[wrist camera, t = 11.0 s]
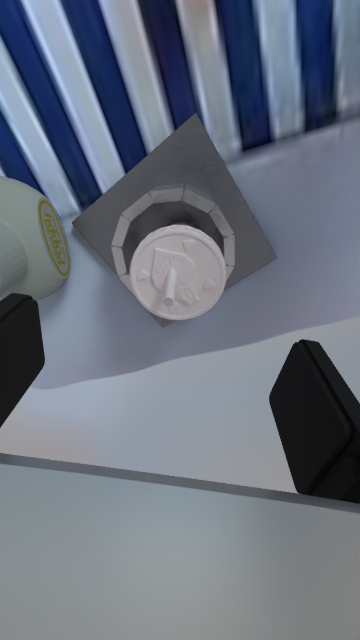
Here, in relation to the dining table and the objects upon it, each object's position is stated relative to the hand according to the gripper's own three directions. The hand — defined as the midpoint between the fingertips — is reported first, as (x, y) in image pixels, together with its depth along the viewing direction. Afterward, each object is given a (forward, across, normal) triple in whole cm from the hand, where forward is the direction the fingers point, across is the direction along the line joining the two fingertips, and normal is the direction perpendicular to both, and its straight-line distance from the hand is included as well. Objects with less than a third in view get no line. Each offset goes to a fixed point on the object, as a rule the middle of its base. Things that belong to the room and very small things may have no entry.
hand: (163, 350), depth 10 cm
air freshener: (+19, +15, +3) cm, 25 cm away
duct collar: (+19, 0, +1) cm, 19 cm away
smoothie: (+18, 0, +1) cm, 18 cm away
